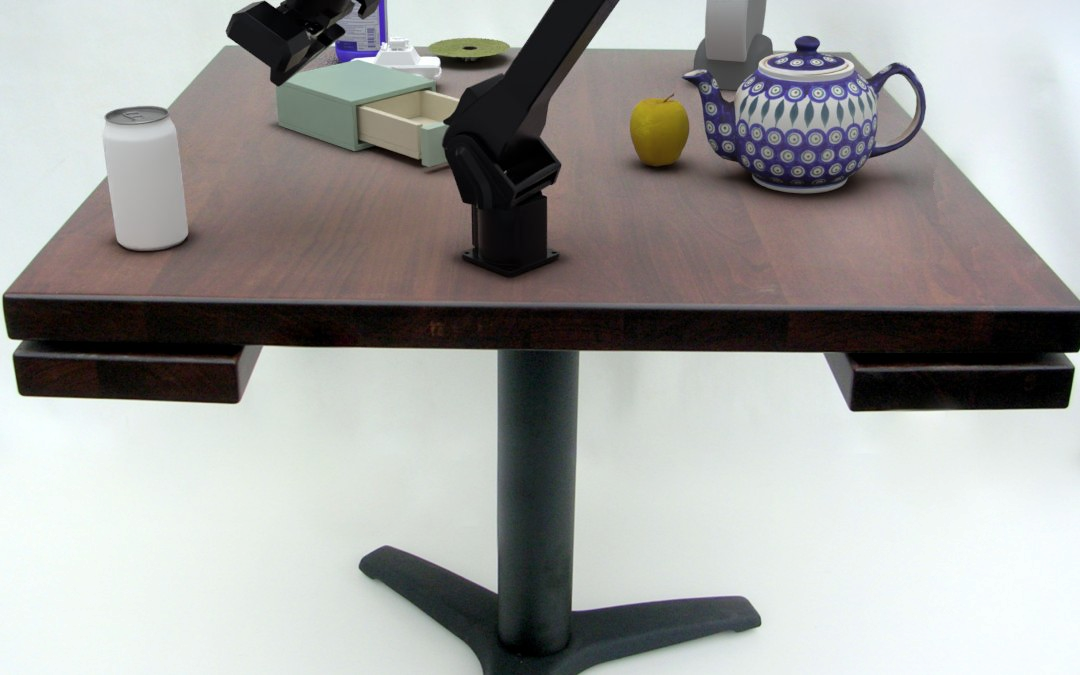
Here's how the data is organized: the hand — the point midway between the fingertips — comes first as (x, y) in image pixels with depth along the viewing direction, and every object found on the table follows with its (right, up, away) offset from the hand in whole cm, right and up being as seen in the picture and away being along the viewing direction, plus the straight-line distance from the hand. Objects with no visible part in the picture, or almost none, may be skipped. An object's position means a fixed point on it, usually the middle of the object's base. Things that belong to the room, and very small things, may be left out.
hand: (276, 82), depth 128 cm
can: (-11, -15, -1) cm, 19 cm away
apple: (+38, -5, +19) cm, 42 cm away
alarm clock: (+50, +10, +52) cm, 73 cm away
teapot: (+52, -7, +15) cm, 54 cm away
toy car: (+6, +8, +47) cm, 48 cm away
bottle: (+1, +14, +59) cm, 61 cm away
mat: (+15, +14, +60) cm, 63 cm away
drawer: (+14, -3, +22) cm, 26 cm away
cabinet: (+4, +1, +31) cm, 31 cm away
